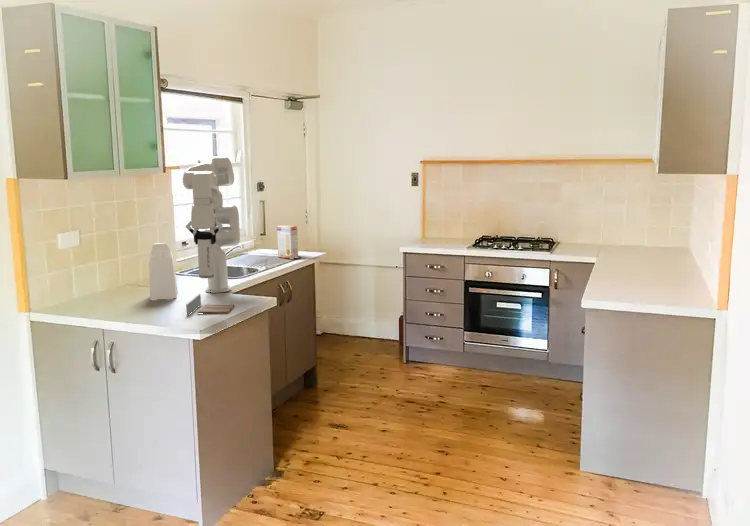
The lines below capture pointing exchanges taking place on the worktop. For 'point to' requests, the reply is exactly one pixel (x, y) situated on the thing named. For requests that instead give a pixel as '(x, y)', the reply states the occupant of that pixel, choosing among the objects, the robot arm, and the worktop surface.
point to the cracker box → (287, 241)
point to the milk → (162, 273)
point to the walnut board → (216, 309)
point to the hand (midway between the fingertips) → (205, 243)
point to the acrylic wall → (193, 304)
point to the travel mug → (205, 254)
